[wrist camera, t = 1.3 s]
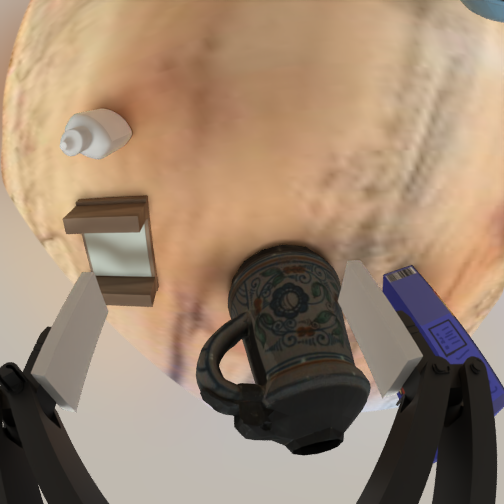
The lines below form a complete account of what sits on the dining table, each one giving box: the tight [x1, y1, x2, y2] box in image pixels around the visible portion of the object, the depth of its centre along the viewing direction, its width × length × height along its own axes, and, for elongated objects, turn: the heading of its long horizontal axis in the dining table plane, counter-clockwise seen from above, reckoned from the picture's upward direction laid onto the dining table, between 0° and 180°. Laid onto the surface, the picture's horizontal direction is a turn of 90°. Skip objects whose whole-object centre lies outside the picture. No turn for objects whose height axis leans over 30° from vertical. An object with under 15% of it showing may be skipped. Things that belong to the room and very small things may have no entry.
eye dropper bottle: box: [60, 108, 132, 159], centre depth 22 cm, size 4×6×12 cm
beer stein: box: [196, 245, 370, 455], centre depth 32 cm, size 16×19×25 cm
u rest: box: [63, 196, 159, 307], centre depth 33 cm, size 14×10×5 cm
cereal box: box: [383, 265, 504, 463], centre depth 36 cm, size 22×6×30 cm, turn 14°
